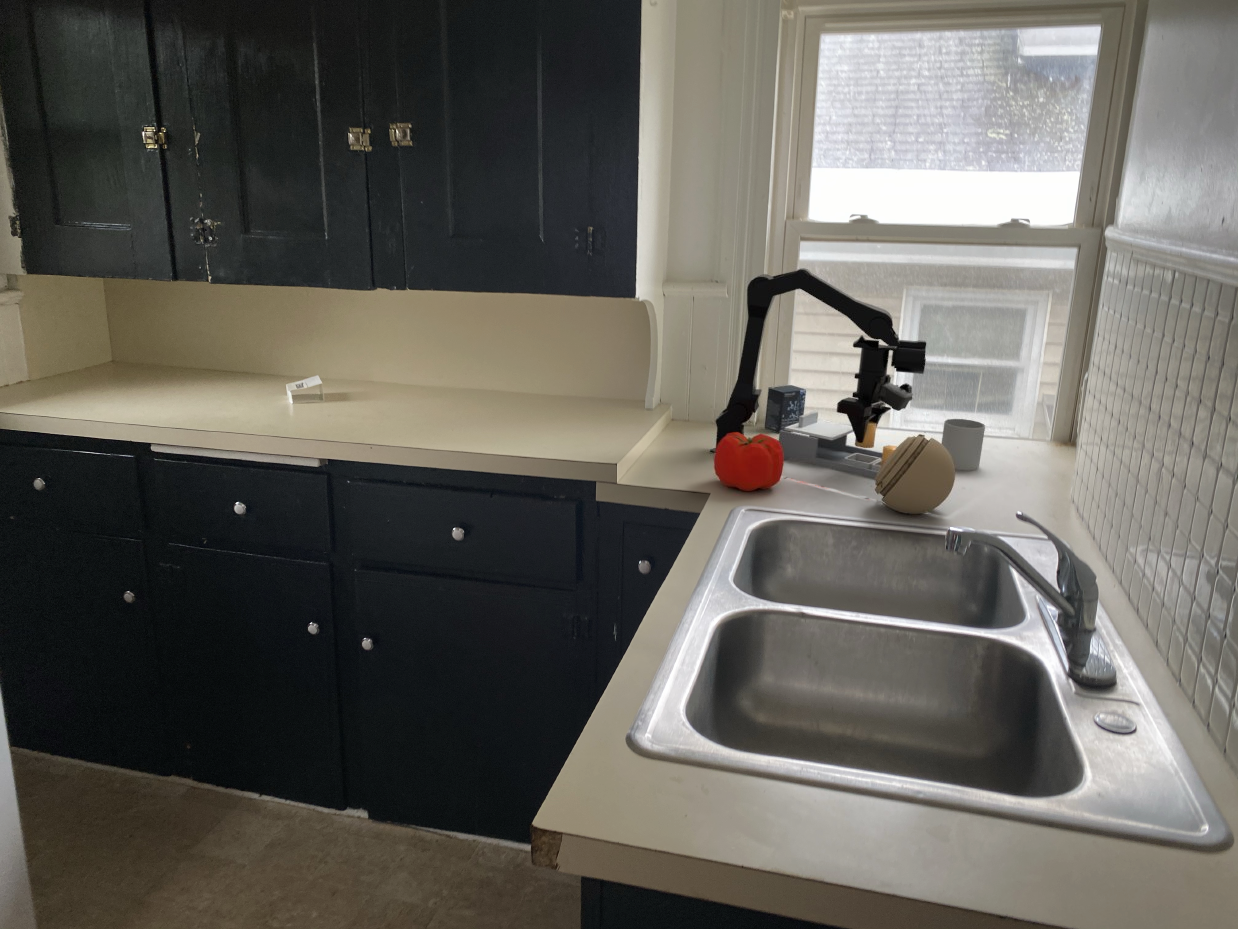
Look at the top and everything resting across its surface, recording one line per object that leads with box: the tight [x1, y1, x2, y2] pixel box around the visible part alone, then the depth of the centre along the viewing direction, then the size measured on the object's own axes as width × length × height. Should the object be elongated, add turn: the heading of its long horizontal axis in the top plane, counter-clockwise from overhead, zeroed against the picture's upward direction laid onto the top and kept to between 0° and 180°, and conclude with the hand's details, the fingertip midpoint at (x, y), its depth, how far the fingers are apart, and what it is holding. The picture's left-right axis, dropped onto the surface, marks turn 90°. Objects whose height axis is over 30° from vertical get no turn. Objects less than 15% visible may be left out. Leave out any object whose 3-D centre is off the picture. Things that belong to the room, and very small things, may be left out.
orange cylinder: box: [881, 445, 898, 466], centre depth 204 cm, size 4×4×5 cm
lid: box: [785, 411, 854, 440], centre depth 213 cm, size 13×12×3 cm
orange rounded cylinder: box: [854, 421, 878, 449], centre depth 206 cm, size 4×4×5 cm
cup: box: [940, 418, 986, 471], centre depth 210 cm, size 8×8×10 cm
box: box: [764, 384, 807, 434], centre depth 236 cm, size 8×6×11 cm
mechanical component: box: [874, 433, 956, 515], centre depth 179 cm, size 15×15×15 cm
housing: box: [778, 430, 883, 479], centre depth 210 cm, size 15×26×6 cm, turn 51°
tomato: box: [713, 432, 785, 492], centre depth 191 cm, size 14×13×10 cm
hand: (864, 440), depth 207 cm, fingers closed on orange rounded cylinder, 4 cm apart
